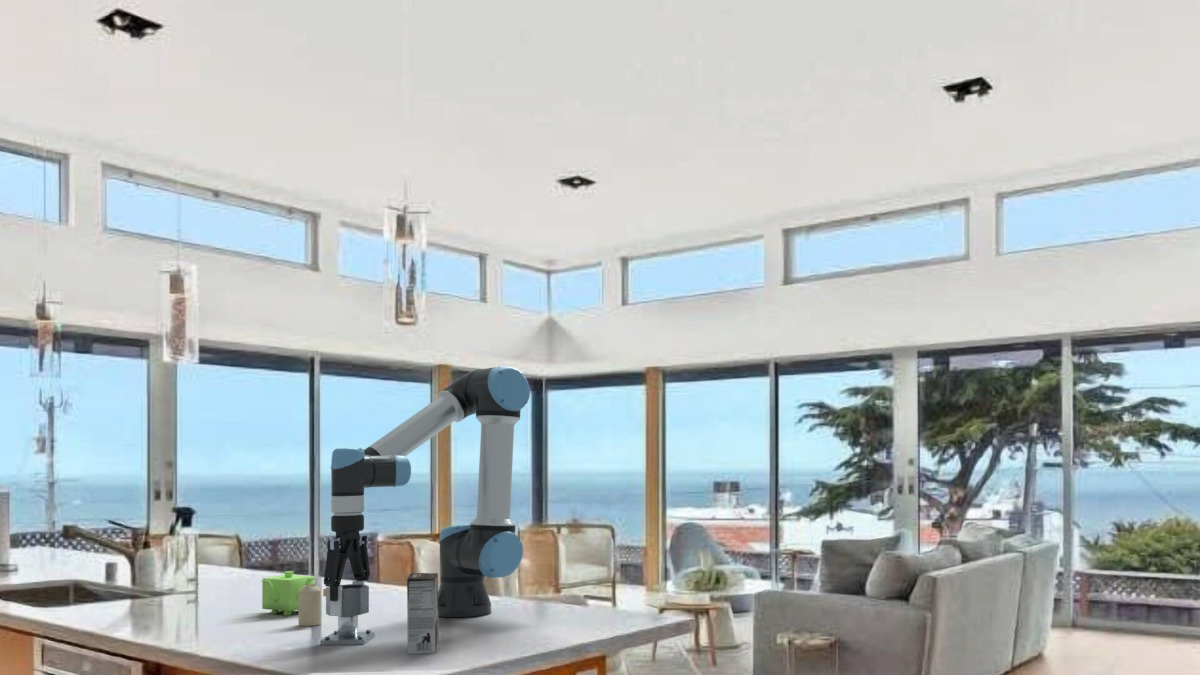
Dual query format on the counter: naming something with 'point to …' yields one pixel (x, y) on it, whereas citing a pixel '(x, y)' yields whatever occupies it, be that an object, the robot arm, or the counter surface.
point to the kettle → (283, 592)
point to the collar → (351, 599)
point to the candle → (309, 605)
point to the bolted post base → (347, 633)
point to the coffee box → (422, 613)
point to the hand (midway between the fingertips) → (347, 612)
